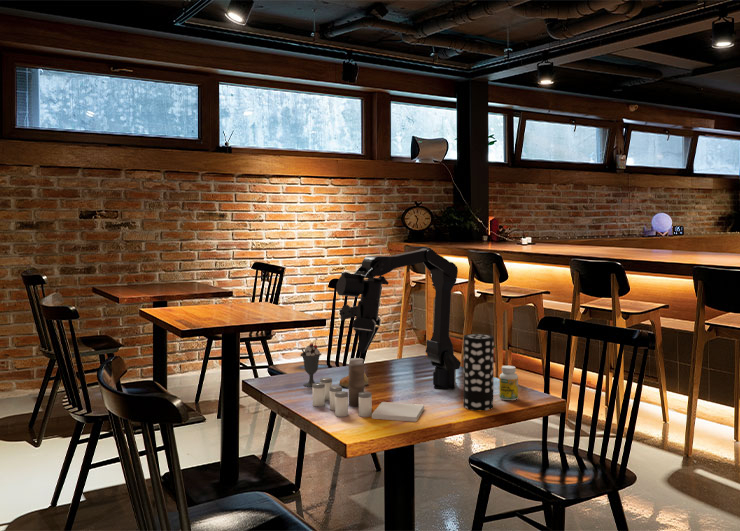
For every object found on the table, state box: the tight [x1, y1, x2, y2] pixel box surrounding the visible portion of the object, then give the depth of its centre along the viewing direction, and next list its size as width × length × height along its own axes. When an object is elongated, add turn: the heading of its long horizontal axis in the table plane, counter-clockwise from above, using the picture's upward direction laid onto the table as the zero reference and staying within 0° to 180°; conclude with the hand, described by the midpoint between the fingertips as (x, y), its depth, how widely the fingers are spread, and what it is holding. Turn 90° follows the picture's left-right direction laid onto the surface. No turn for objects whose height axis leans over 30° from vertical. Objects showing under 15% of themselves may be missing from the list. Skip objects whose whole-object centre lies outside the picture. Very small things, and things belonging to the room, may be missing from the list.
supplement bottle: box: [498, 365, 519, 401], centre depth 191 cm, size 5×5×10 cm
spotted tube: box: [462, 333, 495, 411], centre depth 183 cm, size 8×8×20 cm
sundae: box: [300, 337, 322, 388], centre depth 208 cm, size 7×7×15 cm
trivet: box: [371, 401, 425, 422], centre depth 177 cm, size 12×12×1 cm
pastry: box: [338, 372, 369, 388], centre depth 208 cm, size 9×7×4 cm
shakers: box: [311, 377, 373, 418], centre depth 182 cm, size 8×24×6 cm, turn 35°
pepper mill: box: [348, 357, 365, 408], centre depth 185 cm, size 4×4×13 cm
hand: (363, 351), depth 190 cm, fingers open, 9 cm apart
